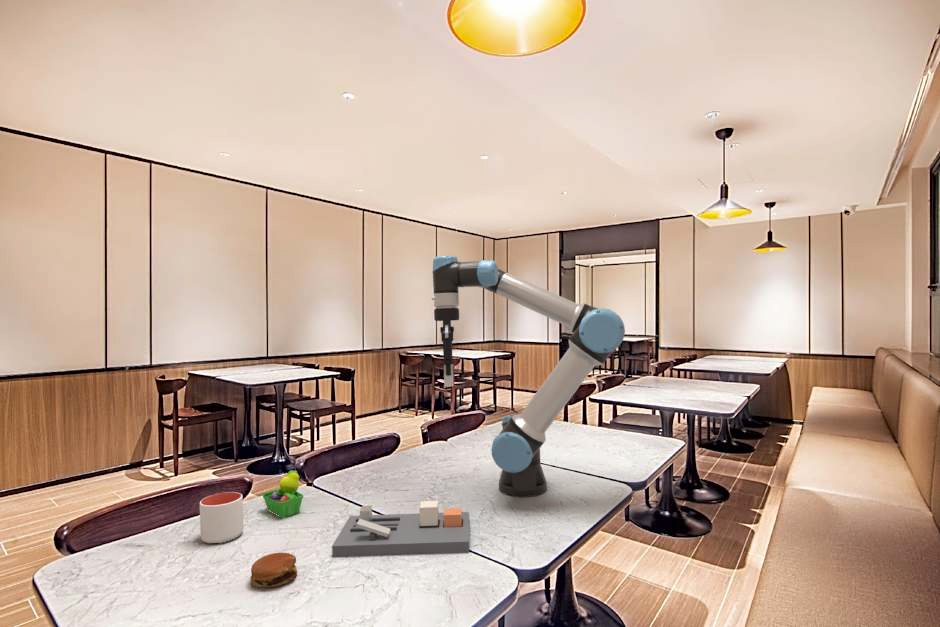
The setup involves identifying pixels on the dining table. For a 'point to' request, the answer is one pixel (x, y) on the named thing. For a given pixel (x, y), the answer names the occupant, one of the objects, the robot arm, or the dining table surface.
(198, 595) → the dining table surface
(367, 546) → the console
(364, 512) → the slider knob
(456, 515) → the button
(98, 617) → the dining table surface
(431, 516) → the button
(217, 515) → the cup
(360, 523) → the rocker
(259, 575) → the burger
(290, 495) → the fruit basket
